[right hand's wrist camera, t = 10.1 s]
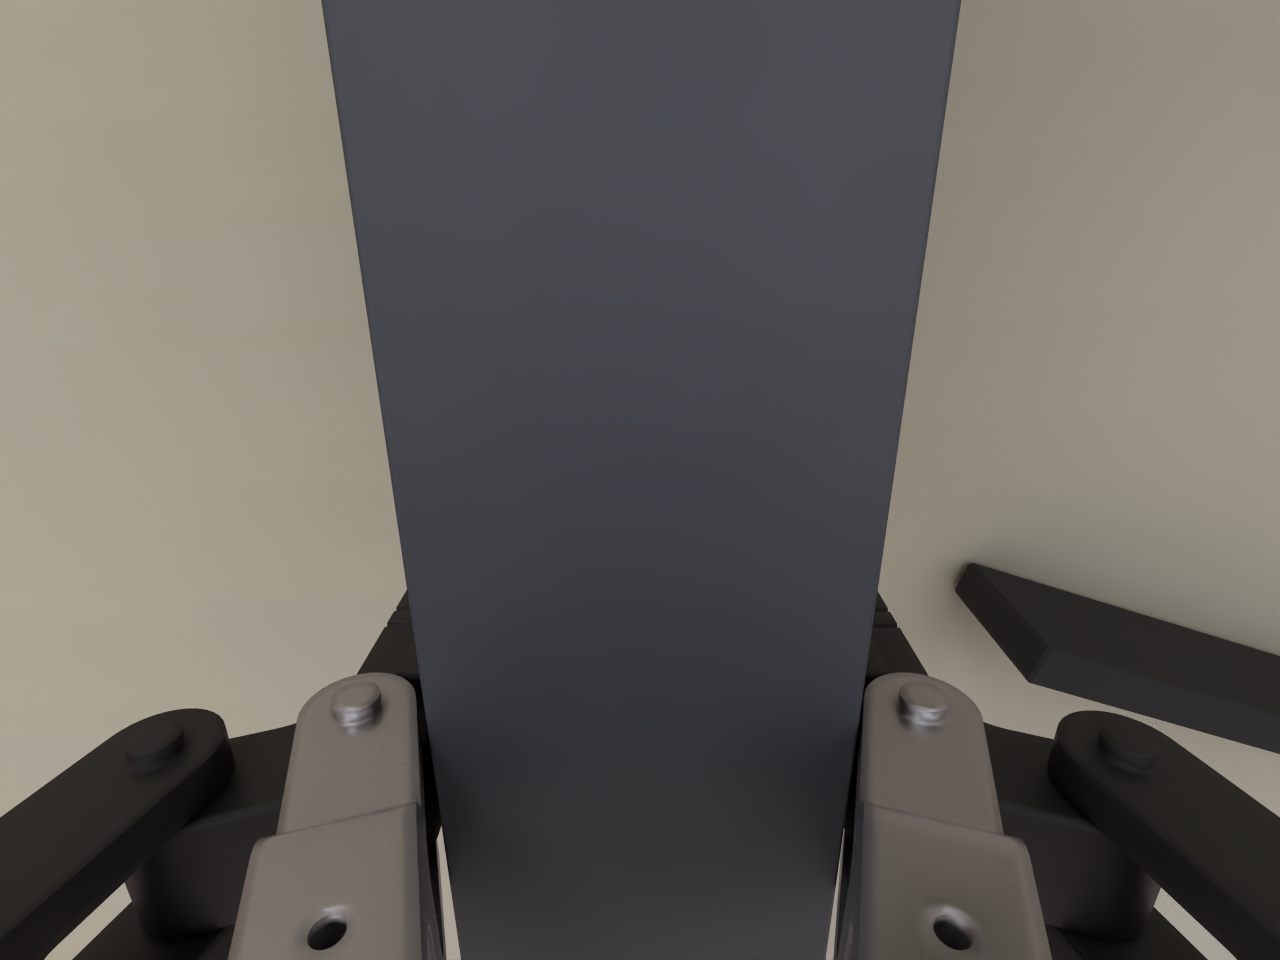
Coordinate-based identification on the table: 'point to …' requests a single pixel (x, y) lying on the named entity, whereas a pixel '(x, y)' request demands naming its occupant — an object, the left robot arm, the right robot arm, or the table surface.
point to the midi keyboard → (1128, 658)
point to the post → (642, 436)
